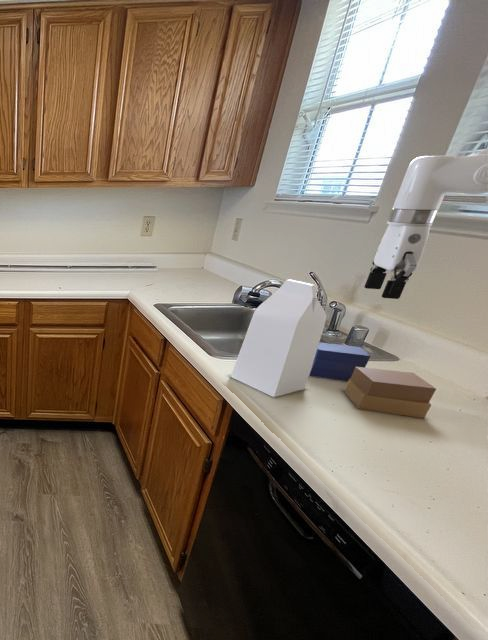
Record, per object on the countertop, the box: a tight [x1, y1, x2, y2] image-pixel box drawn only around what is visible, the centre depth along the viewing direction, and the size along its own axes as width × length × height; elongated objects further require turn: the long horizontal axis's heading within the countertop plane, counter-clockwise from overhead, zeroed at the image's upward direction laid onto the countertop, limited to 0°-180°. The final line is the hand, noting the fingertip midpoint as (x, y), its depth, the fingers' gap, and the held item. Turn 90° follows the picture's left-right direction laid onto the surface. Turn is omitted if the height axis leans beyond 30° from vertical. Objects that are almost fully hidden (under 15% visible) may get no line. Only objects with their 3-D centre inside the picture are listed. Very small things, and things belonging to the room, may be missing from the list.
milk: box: [230, 279, 327, 398], centre depth 102 cm, size 12×12×26 cm
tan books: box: [343, 367, 437, 419], centre depth 96 cm, size 12×9×7 cm
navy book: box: [315, 341, 371, 366], centre depth 109 cm, size 11×6×2 cm, turn 69°
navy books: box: [309, 358, 367, 382], centre depth 111 cm, size 11×7×5 cm, turn 69°
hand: (380, 293), depth 100 cm, fingers open, 9 cm apart
